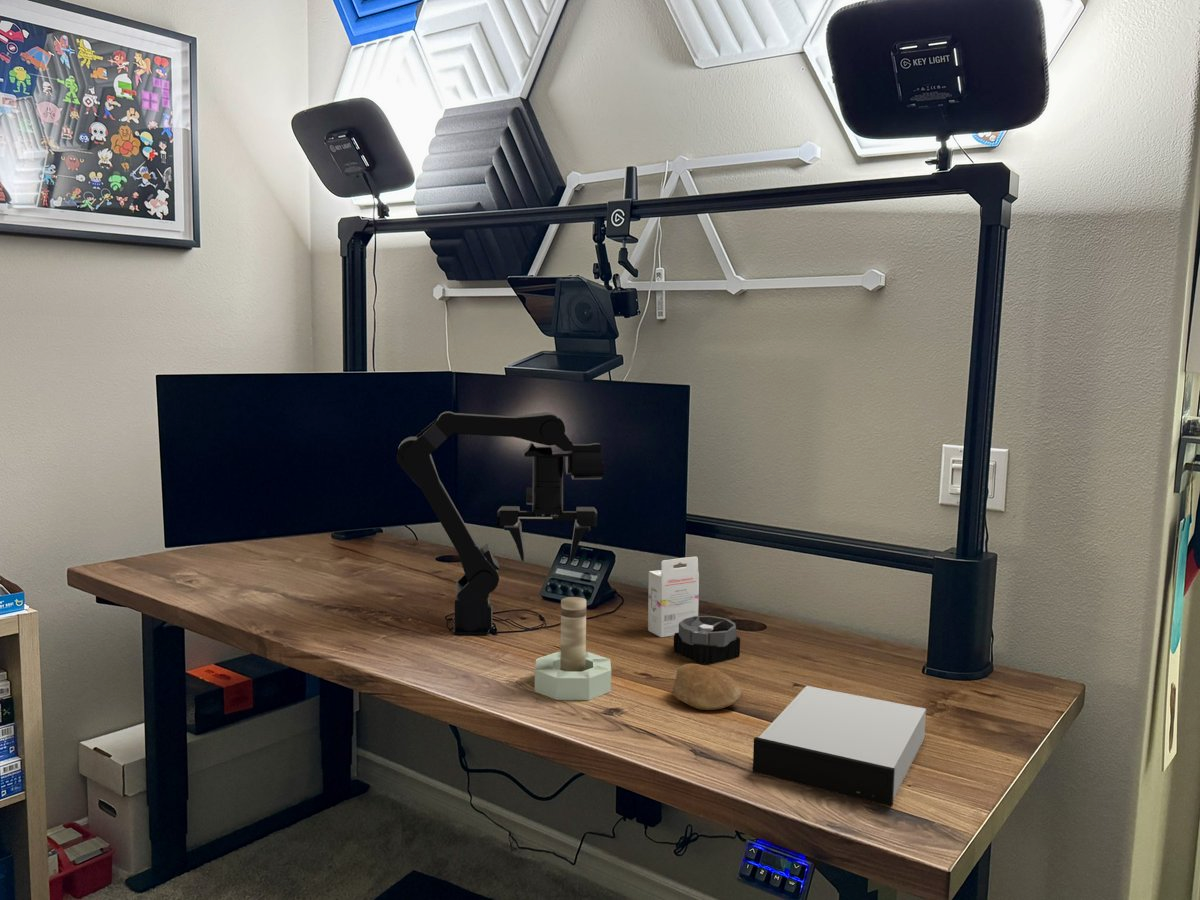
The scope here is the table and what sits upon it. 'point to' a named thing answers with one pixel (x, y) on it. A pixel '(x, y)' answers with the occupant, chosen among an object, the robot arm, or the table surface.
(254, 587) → the table surface
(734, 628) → the cpu cooler
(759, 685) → the table surface
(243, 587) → the table surface
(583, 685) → the sage ashtray
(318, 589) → the table surface
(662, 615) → the ink cartridge box
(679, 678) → the stone
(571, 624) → the maple peg
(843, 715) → the disc drive
